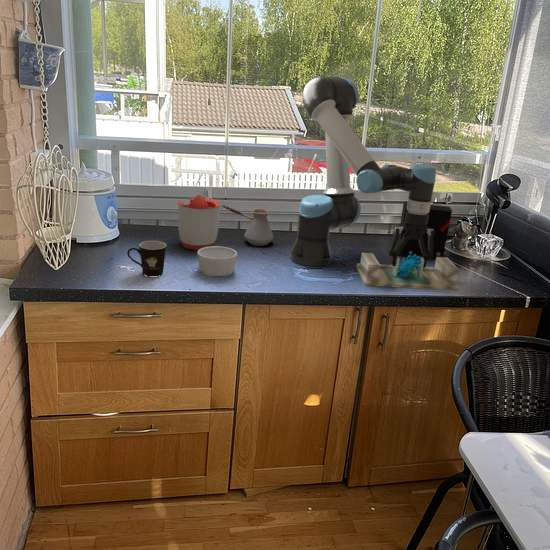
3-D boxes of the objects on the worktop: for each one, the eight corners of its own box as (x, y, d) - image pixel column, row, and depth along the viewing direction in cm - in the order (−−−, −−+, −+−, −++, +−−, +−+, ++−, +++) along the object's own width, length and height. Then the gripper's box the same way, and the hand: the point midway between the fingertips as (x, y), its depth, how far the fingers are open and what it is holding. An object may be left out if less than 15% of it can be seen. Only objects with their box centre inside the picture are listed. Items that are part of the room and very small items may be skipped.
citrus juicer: (193, 236, 227) (195, 186, 220) (226, 246, 218) (229, 195, 211) (165, 244, 215) (165, 192, 208) (199, 255, 206) (200, 202, 199)
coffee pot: (270, 238, 232) (273, 202, 226) (274, 247, 221) (277, 210, 216) (217, 237, 228) (219, 201, 222) (220, 246, 217) (221, 208, 212)
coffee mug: (170, 272, 189) (171, 243, 185) (157, 280, 181) (157, 251, 178) (140, 265, 192) (140, 237, 189) (126, 274, 185) (125, 244, 181)
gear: (390, 265, 202) (414, 248, 200) (399, 276, 205) (422, 259, 202) (399, 281, 193) (423, 263, 190) (408, 292, 195) (433, 274, 193)
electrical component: (438, 253, 231) (448, 205, 224) (443, 261, 221) (453, 211, 214) (395, 248, 232) (403, 200, 225) (398, 256, 222) (406, 207, 215)
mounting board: (364, 285, 191) (367, 265, 188) (356, 268, 206) (358, 249, 203) (457, 290, 193) (461, 270, 191) (442, 273, 208) (445, 254, 206)
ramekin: (189, 273, 189) (190, 254, 187) (208, 262, 201) (208, 243, 198) (225, 281, 185) (226, 261, 183) (242, 269, 197) (243, 250, 194)
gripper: (389, 213, 186) (379, 277, 194) (451, 216, 187) (439, 280, 195) (384, 207, 193) (375, 269, 201) (444, 211, 194) (432, 273, 202)
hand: (406, 275), depth 198 cm, fingers open, 8 cm apart
